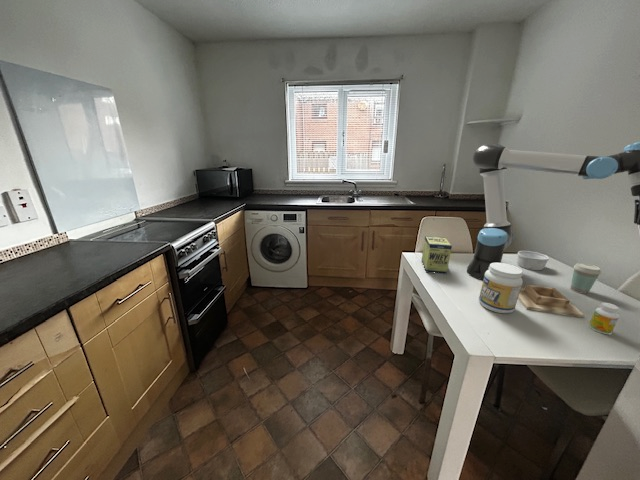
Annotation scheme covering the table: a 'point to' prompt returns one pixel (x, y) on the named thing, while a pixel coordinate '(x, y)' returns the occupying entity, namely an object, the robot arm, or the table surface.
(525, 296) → the birch rack
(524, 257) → the ramekin
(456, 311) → the table surface
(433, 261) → the protein box
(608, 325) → the supplement bottle
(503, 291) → the supplement tub
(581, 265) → the coffee cup
